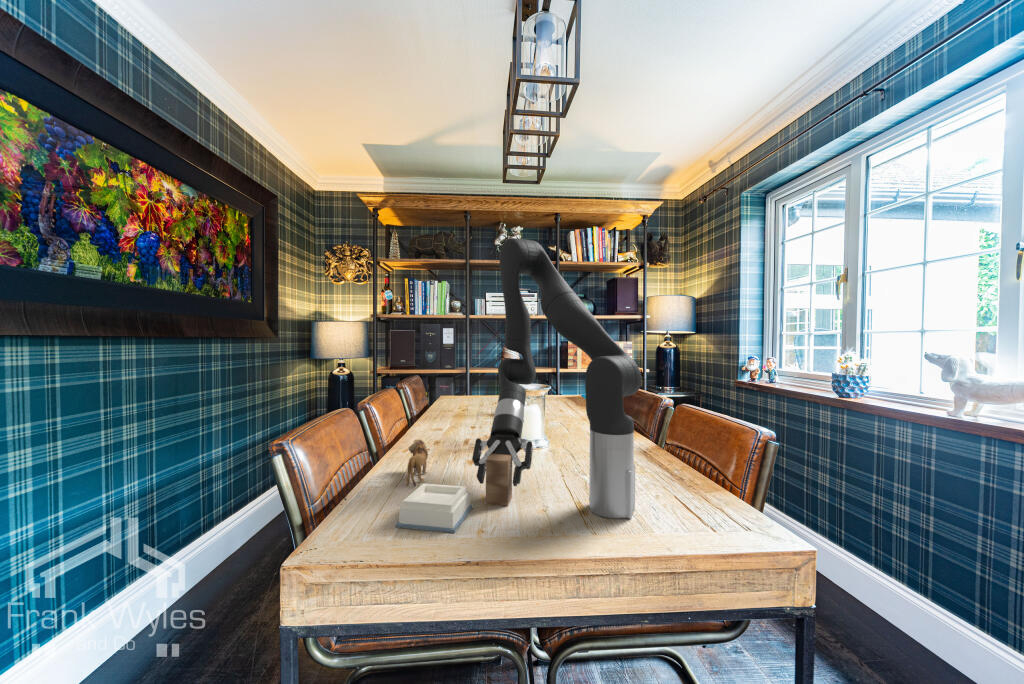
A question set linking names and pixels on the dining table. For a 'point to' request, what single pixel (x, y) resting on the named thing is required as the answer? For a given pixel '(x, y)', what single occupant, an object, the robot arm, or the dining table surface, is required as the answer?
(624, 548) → the dining table surface
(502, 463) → the walnut column
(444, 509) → the pedestal base
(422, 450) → the lion figurine
